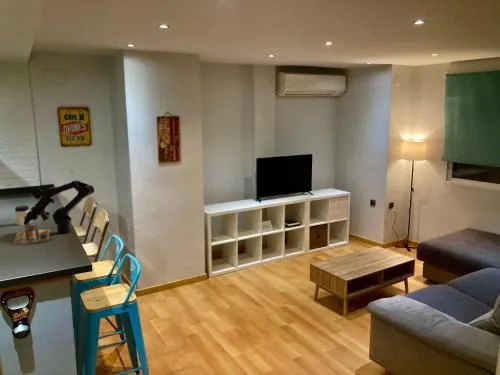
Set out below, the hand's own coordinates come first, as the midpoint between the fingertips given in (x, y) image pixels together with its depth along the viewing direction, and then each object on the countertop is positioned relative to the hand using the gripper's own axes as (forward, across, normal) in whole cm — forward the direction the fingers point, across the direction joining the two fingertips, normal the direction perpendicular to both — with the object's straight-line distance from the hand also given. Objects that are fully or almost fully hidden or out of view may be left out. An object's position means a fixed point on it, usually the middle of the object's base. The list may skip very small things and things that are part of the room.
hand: (24, 223), depth 258 cm
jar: (+9, +32, 0) cm, 34 cm away
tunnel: (0, -16, -9) cm, 18 cm away
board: (+2, -8, -8) cm, 12 cm away
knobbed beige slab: (+2, -7, -6) cm, 10 cm away
